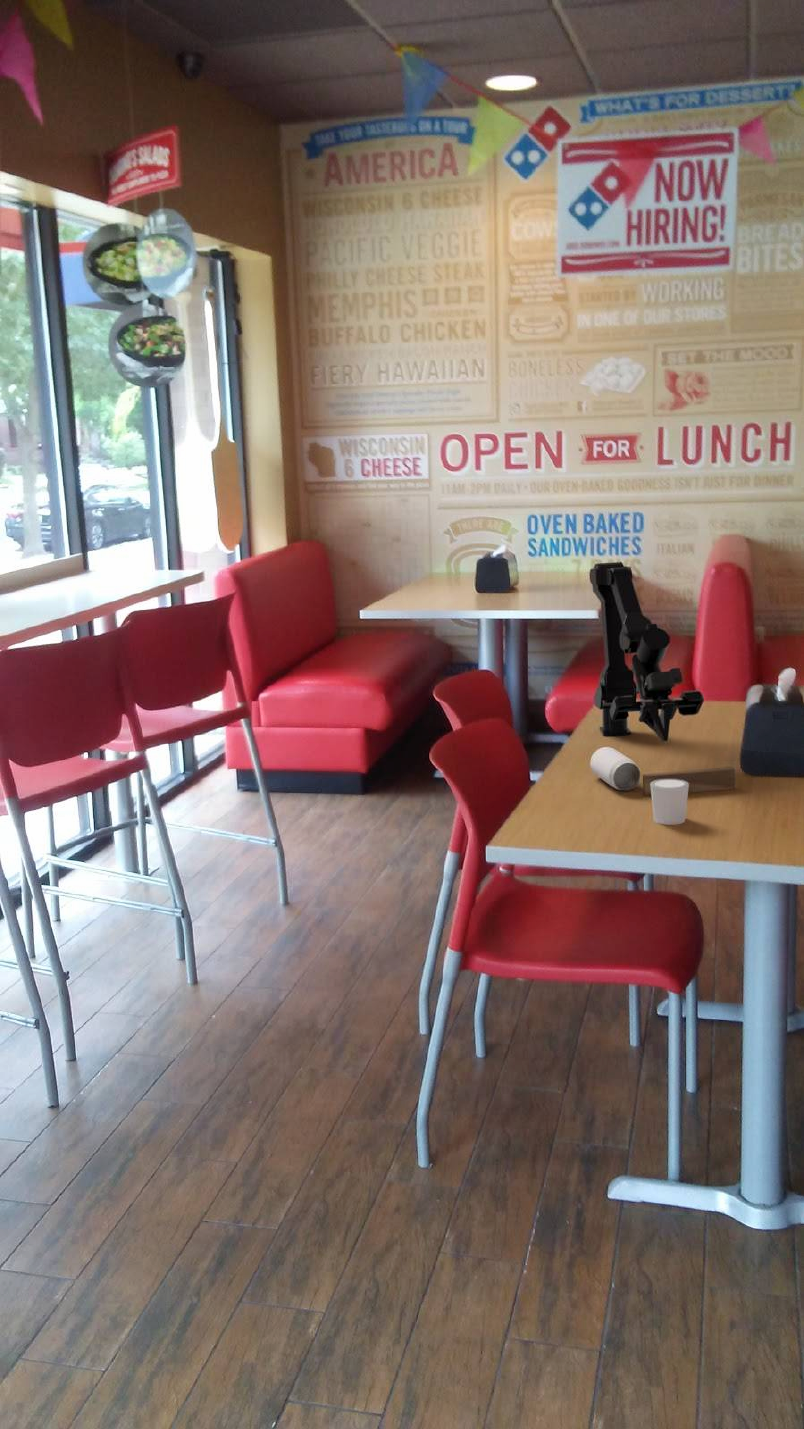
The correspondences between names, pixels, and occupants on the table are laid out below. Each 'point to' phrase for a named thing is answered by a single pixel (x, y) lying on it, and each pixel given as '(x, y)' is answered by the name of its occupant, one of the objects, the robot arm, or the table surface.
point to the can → (615, 768)
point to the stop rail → (696, 779)
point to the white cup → (669, 800)
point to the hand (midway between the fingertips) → (665, 740)
